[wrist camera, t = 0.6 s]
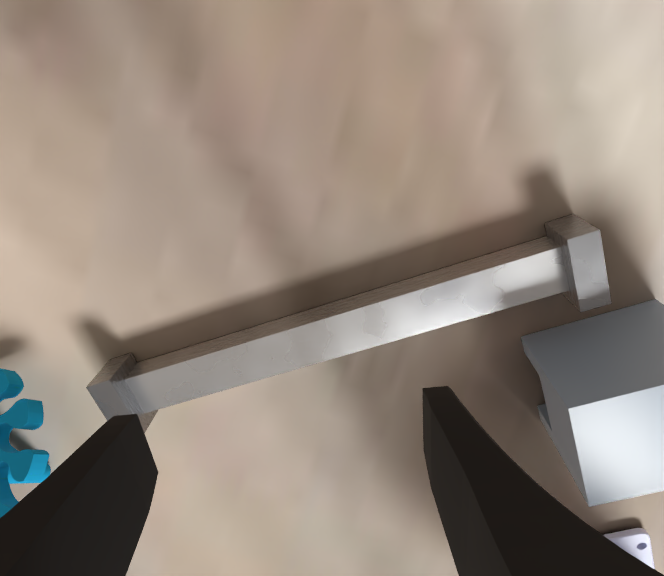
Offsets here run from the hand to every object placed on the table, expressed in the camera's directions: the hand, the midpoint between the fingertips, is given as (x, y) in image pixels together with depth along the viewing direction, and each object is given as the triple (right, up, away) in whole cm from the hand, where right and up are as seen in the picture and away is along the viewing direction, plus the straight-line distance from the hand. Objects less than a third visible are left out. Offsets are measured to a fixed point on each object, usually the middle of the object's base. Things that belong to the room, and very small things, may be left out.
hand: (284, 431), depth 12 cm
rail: (+1, +2, +11) cm, 11 cm away
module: (+14, 0, +11) cm, 17 cm away
